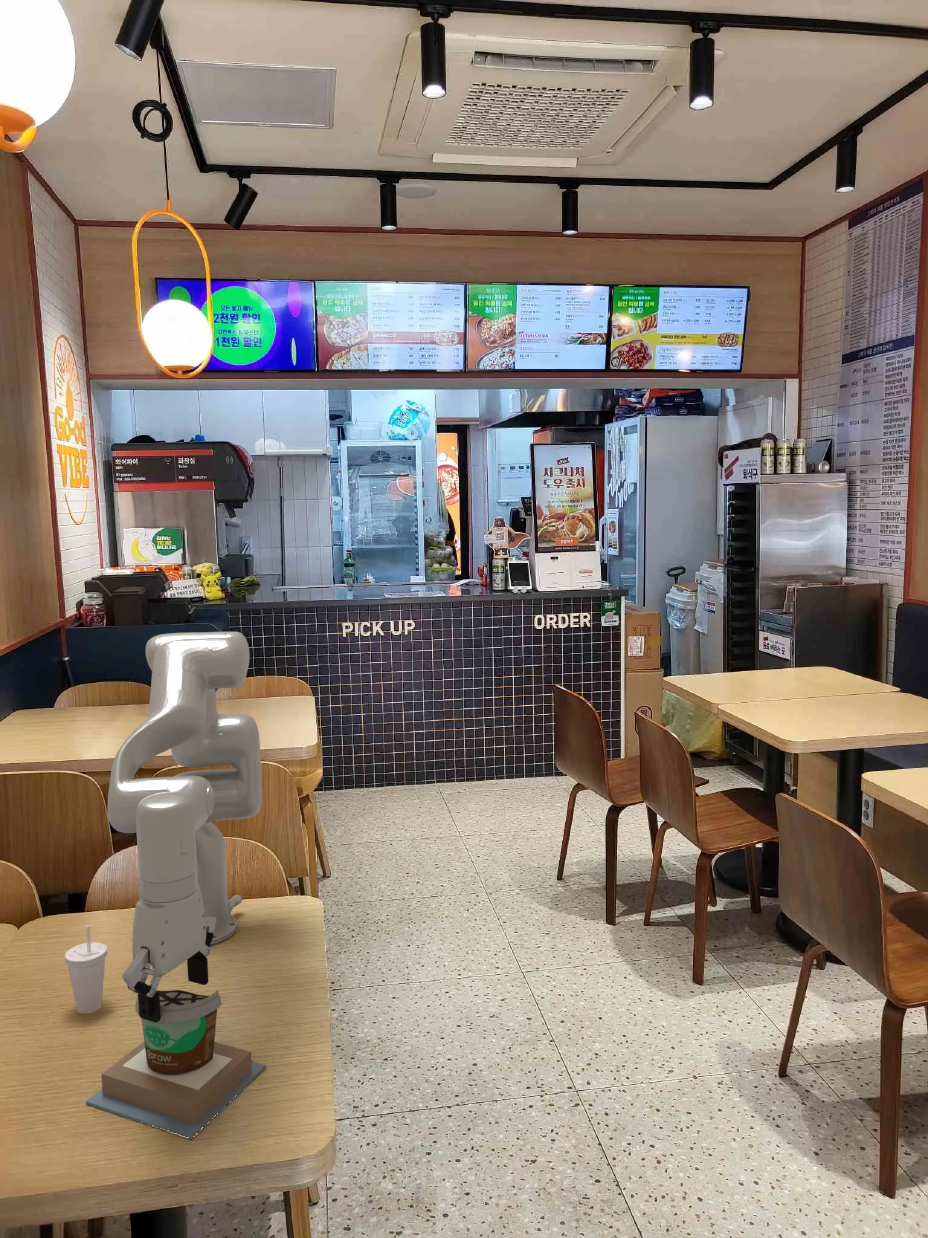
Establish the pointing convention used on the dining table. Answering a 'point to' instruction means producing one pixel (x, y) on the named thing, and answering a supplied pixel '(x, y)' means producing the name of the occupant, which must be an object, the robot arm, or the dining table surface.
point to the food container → (181, 1032)
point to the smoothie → (87, 973)
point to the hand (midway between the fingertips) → (175, 1000)
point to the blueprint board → (175, 1089)
